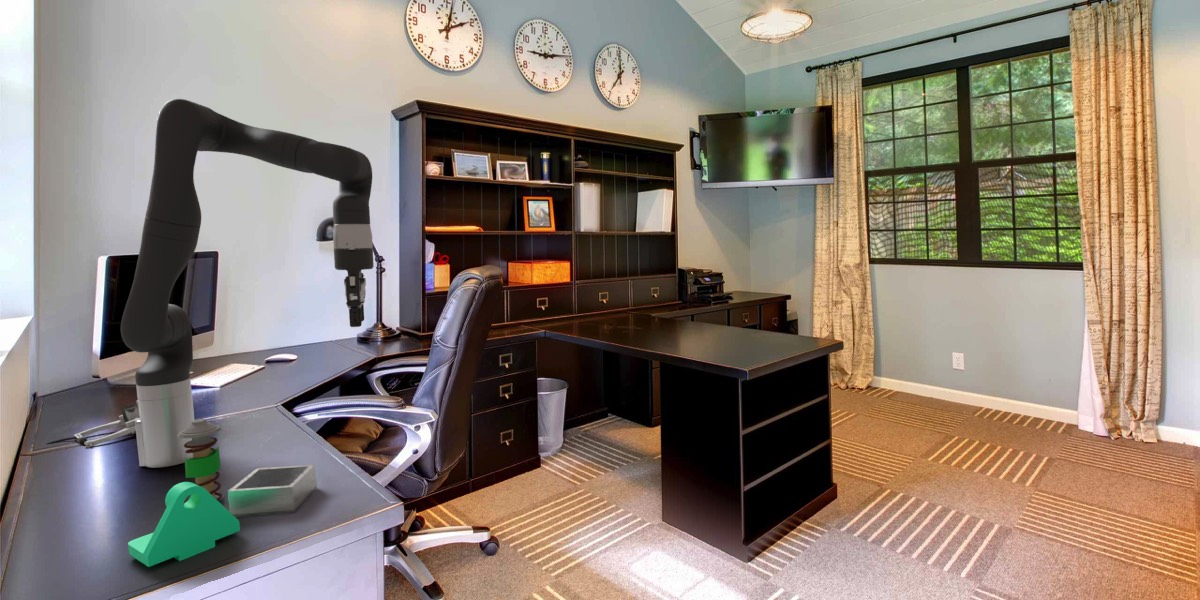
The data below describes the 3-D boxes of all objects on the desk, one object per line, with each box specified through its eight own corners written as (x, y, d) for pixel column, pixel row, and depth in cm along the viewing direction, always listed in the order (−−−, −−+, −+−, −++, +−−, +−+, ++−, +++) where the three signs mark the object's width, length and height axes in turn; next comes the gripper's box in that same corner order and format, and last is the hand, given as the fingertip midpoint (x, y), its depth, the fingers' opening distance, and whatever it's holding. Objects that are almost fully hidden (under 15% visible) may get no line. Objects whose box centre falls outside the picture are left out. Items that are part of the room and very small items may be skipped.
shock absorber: (218, 493, 109) (211, 413, 107) (234, 501, 105) (227, 418, 104) (178, 506, 104) (169, 422, 102) (193, 515, 100) (185, 428, 98)
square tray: (230, 517, 99) (227, 491, 98) (258, 492, 109) (256, 468, 108) (294, 512, 100) (292, 487, 99) (316, 488, 110) (314, 464, 109)
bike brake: (149, 419, 156) (49, 453, 141) (142, 395, 155) (40, 426, 140) (166, 429, 148) (61, 466, 133) (158, 404, 146) (51, 438, 131)
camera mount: (217, 525, 96) (211, 464, 95) (240, 537, 92) (234, 473, 91) (127, 559, 86) (119, 491, 85) (149, 574, 82) (141, 503, 81)
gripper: (337, 246, 129) (341, 320, 131) (329, 247, 116) (334, 329, 117) (374, 246, 132) (377, 319, 133) (370, 246, 118) (374, 327, 120)
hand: (357, 323), depth 125 cm, fingers open, 8 cm apart
